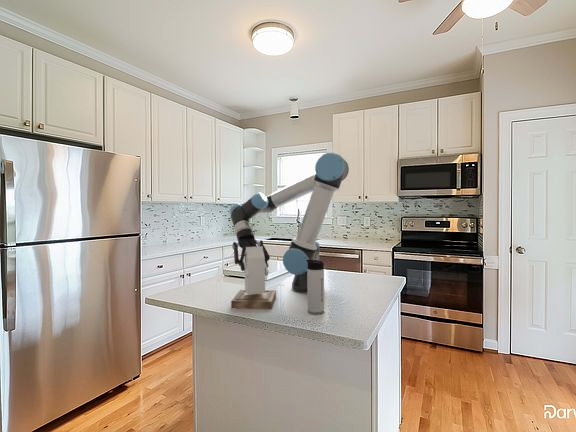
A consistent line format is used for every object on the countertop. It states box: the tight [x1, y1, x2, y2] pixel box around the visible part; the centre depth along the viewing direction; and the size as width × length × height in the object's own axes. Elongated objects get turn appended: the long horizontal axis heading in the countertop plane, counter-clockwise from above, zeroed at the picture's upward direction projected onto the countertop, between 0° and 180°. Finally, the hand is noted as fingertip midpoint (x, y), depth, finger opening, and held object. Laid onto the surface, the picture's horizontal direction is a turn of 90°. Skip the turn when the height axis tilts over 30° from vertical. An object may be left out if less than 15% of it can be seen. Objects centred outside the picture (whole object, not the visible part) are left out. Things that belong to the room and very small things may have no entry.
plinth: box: [230, 289, 277, 310], centre depth 129 cm, size 16×16×3 cm
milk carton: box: [243, 246, 266, 295], centre depth 128 cm, size 7×7×19 cm
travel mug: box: [306, 260, 325, 316], centre depth 116 cm, size 6×7×20 cm
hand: (257, 275), depth 126 cm, fingers closed on milk carton, 8 cm apart
